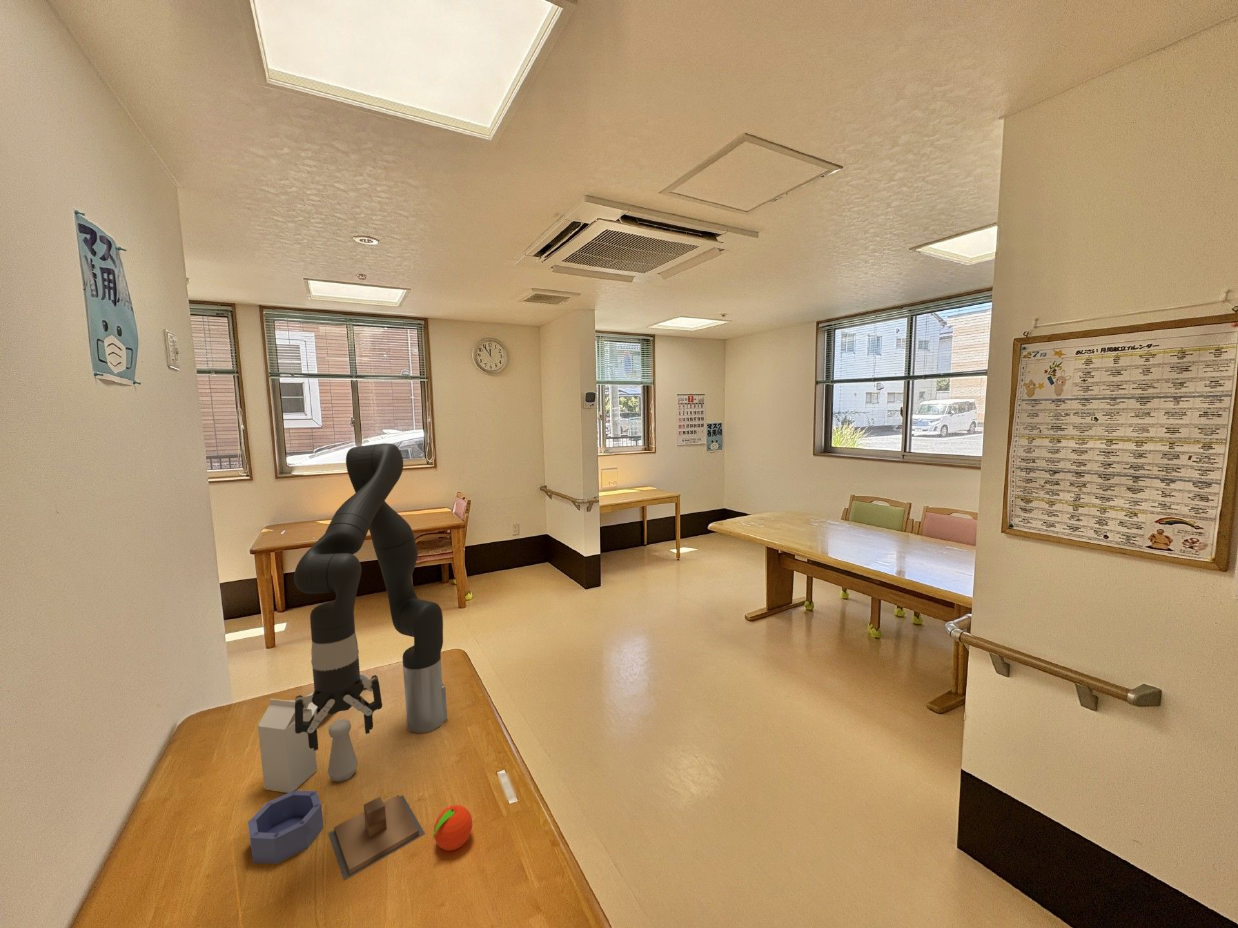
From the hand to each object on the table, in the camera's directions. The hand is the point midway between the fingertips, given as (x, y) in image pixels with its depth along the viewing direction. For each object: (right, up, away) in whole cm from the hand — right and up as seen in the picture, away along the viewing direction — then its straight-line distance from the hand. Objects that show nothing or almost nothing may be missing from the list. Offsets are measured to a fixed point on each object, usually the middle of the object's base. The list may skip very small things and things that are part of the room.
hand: (342, 739), depth 94 cm
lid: (+6, -19, +2) cm, 20 cm away
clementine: (+21, -20, -1) cm, 29 cm away
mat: (+6, -20, +2) cm, 20 cm away
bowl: (-11, -20, +1) cm, 23 cm away
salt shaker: (-9, -18, +17) cm, 27 cm away
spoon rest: (-28, -16, +44) cm, 54 cm away
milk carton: (-21, -19, +17) cm, 33 cm away
